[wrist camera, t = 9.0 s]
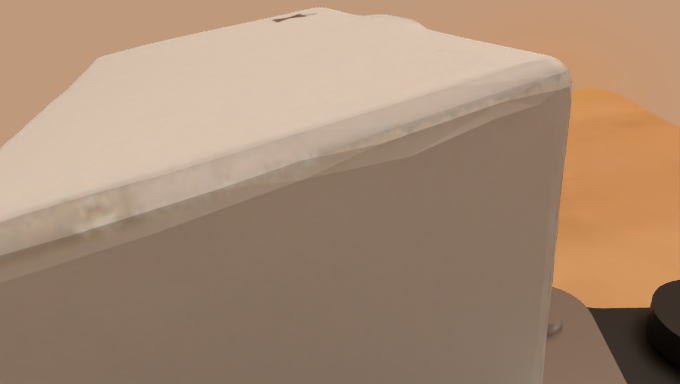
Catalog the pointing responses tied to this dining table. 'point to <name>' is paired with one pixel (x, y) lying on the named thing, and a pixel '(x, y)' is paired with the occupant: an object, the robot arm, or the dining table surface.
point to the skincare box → (287, 210)
